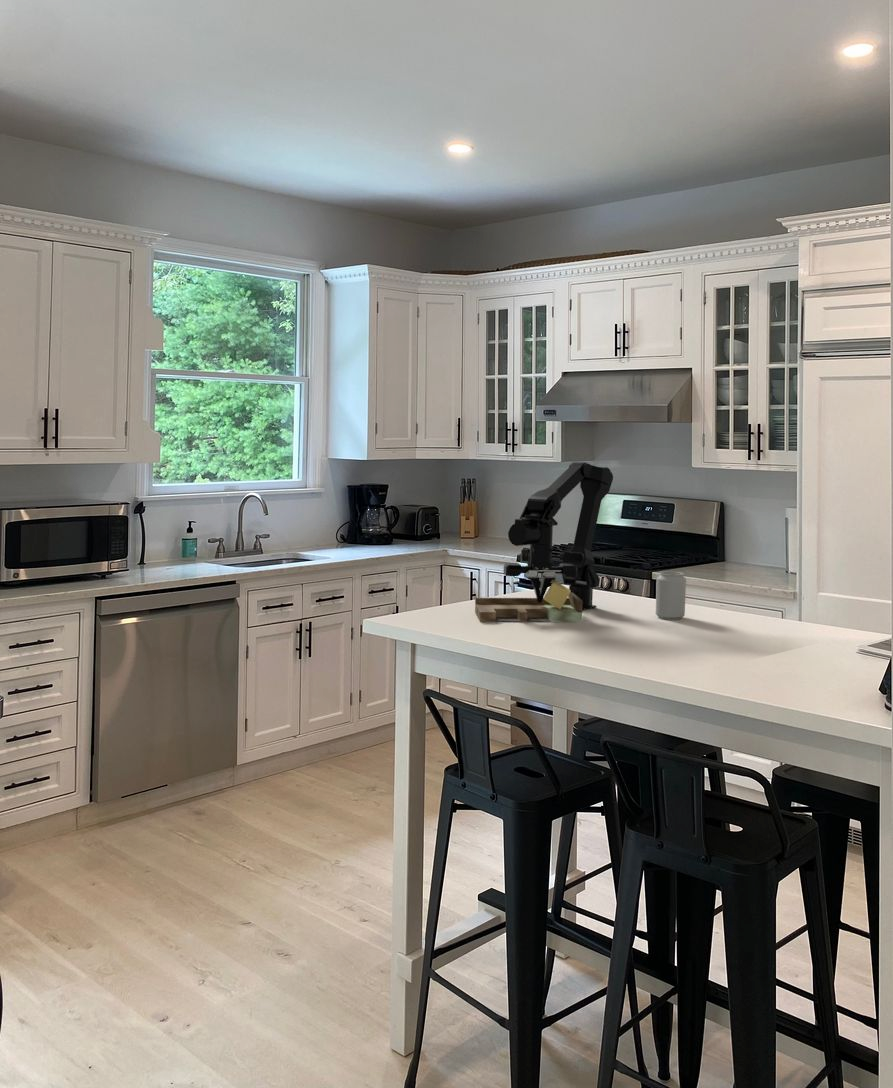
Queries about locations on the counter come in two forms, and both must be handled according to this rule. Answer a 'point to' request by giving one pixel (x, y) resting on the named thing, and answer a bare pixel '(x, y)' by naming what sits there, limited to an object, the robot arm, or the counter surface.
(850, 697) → the counter surface
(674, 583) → the can
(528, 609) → the deck
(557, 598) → the block
